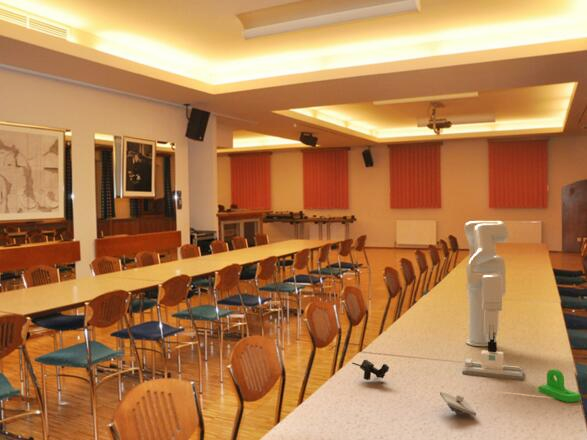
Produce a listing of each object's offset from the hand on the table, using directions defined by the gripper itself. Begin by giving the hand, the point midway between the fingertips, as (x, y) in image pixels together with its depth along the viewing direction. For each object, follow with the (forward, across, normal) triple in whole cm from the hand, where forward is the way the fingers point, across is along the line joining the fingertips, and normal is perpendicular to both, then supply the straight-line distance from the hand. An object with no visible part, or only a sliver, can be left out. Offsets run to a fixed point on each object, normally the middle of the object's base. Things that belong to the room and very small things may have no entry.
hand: (492, 351), depth 207 cm
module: (+8, 0, 0) cm, 8 cm away
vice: (+6, +28, -37) cm, 47 cm away
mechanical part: (+9, +18, +23) cm, 30 cm away
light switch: (+8, +42, -12) cm, 45 cm away
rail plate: (+9, 0, 0) cm, 9 cm away
